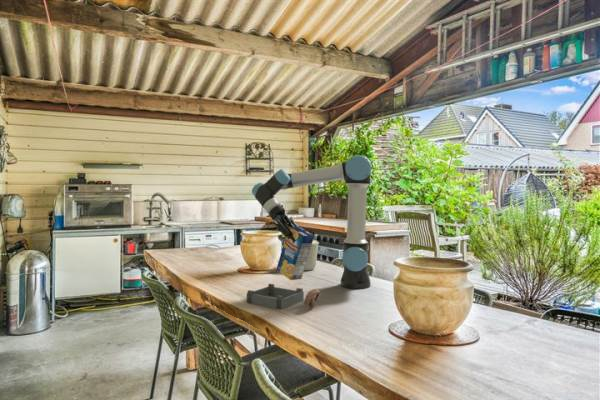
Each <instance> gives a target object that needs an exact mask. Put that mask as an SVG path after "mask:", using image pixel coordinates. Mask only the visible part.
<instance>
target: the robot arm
mask: <svg viewBox="0 0 600 400" xmlns="http://www.w3.org/2000/svg"><path fill="white" fill-rule="evenodd" d="M371 172H372V163H371V161H370V160H369V158H368V157H366V156H364V155H362V154H361V155H360V154H359V155H357V154H356V155H353V156H351V157H350V158H348V159H347V160H346V161H343V162H340V164H336V165H332V166H325V167H321V168H320V167H319V168H314V169H307V170H301V171H297V172H291V173H287V172H286V171H285V170H284V168H283V169H282V168H281V169H279V170H277V171H276V172H275V173H274V174H273V175H272V176H271V177H270V178H269V179H268V180H267V181H265V183H264V182H258V183H257V184H255V185H253V187H252V189H251V194H252V195H253V197H254V198H255V200H256V201H257V202H258V203H259V204H260V206H262V208H263V209H264V210H265V212H266V213H267V214H268V215H269V217H270V218H271V220H273V222H272V223H273V224H274V225H275V226H276V227H277V228H278V229H279V230H280V232H281V234H283V236H284V237H285V238H286V237H288V239H290V238H291V240H292V241H293V242H295V241H296V240H295V238H294V237H293V233H292V232H291V230H290V229H289V227H300V226H299V225H298V224H297V223H296V221H295V220H294V218H293V217H292V216H290V217H289V216H288V215H287V214H286V209H285V208H284V206H282V205H281V203H280V202H279V201H278V199H277V198H276V197H275V195H277V194H278V193H279V192H280V191H281V190H283V191H284V190H288V189H294V188H299V187H305V186H311V185H317V184H324V183H328V182H336V181H341V180H342V181H343V182H344V184H345V185H346V186H347V188H348V191H347V192H348V195H347V217H346V218H347V222H346V223H347V225H346V238H345V239H344V240H343V244H342V245H343V246H342V256H341V257H342V258H341V260H342V263H343V272H342V275H341V279H340V286H341V287H342V288H347V289H355V290H357V289H366V288H370V287H371V286H372V284H371V279H370V276H369V273H368V272H369V271H368V263H369V256H368V255H369V241H367V239H366V219H367V218H366V217H367V192H368V187H370V186H371V176H372V175H371V174H372V173H371Z"/></svg>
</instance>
